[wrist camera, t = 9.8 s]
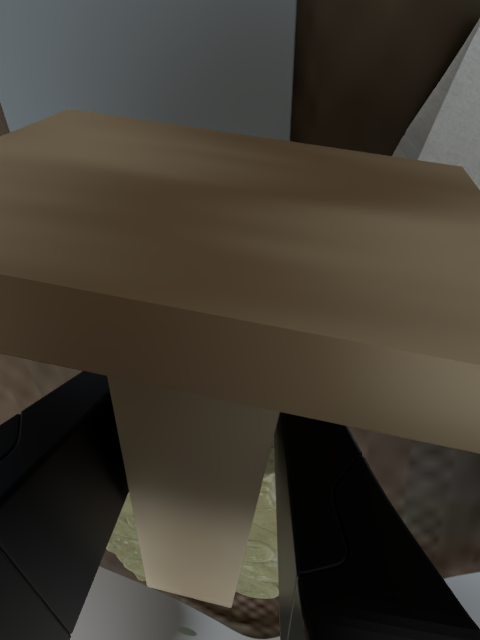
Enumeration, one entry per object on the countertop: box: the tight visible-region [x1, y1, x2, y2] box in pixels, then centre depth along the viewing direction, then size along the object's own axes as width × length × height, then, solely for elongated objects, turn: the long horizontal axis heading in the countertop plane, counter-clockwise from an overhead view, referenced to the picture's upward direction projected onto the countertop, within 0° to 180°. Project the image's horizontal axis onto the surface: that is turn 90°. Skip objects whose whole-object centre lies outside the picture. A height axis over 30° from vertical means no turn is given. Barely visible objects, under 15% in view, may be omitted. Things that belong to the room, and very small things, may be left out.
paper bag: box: [392, 19, 480, 190], centre depth 16 cm, size 4×7×10 cm
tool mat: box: [0, 0, 297, 141], centre depth 18 cm, size 13×15×1 cm
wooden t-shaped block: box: [0, 109, 480, 608], centre depth 9 cm, size 7×11×5 cm, turn 174°
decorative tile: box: [106, 448, 279, 599], centre depth 36 cm, size 19×20×4 cm
